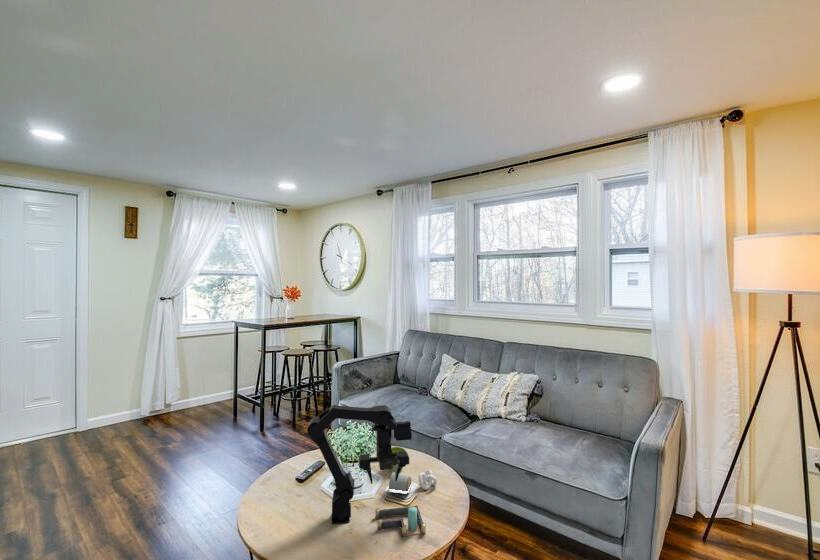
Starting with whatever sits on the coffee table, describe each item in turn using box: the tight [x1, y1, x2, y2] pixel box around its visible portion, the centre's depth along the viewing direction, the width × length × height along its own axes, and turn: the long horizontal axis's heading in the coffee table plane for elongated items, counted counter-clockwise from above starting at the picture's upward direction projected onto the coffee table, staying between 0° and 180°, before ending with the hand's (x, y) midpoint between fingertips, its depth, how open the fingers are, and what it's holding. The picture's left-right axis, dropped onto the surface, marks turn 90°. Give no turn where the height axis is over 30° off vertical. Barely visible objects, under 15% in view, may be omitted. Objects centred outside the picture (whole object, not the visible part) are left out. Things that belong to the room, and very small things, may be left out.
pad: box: [404, 523, 422, 536], centre depth 138 cm, size 5×5×1 cm
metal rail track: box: [374, 505, 427, 538], centre depth 140 cm, size 16×14×3 cm
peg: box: [407, 506, 418, 532], centre depth 138 cm, size 3×3×7 cm
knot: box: [418, 469, 438, 491], centre depth 167 cm, size 8×8×6 cm
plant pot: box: [389, 446, 407, 473], centre depth 181 cm, size 9×9×9 cm
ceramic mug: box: [388, 472, 412, 491], centre depth 163 cm, size 11×8×8 cm
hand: (383, 482), depth 146 cm, fingers open, 9 cm apart
